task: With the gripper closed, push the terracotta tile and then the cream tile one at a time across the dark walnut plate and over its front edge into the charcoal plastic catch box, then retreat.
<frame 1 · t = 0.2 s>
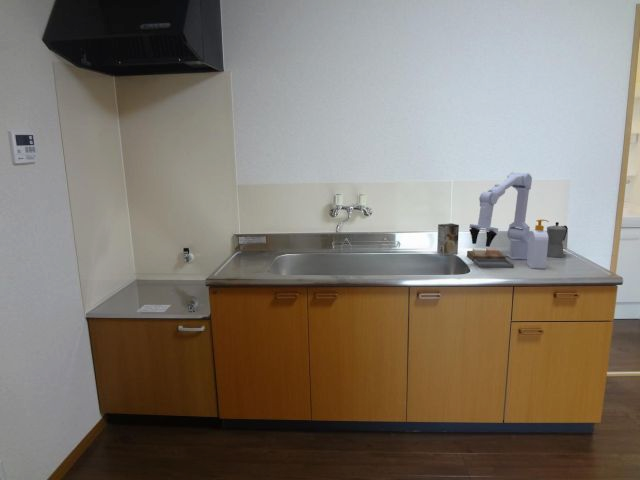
hand: (480, 245, 222), 11 cm above the table, tool pointing down, fingers open, 7 cm apart
cream tile: (478, 253, 238), point 3 cm above the table, touching walnut plate
catch box: (493, 265, 226), on the table
terracotta tile: (492, 253, 238), point 3 cm above the table, touching walnut plate
coffee box: (447, 254, 250), on the table
soap bottle: (536, 266, 223), on the table
walnut plate: (485, 259, 238), on the table
coffeepot: (555, 255, 245), on the table
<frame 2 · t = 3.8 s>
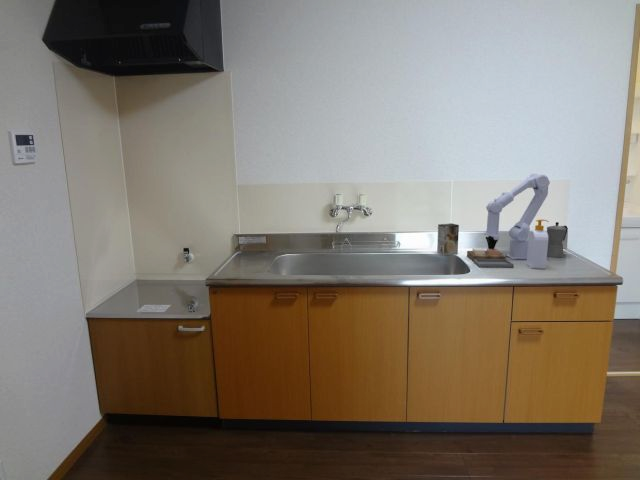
hand: (491, 250, 240), 4 cm above the table, tool pointing down, fingers closed
terracotta tile: (493, 253, 237), point 3 cm above the table, touching walnut plate
everything else where it was.
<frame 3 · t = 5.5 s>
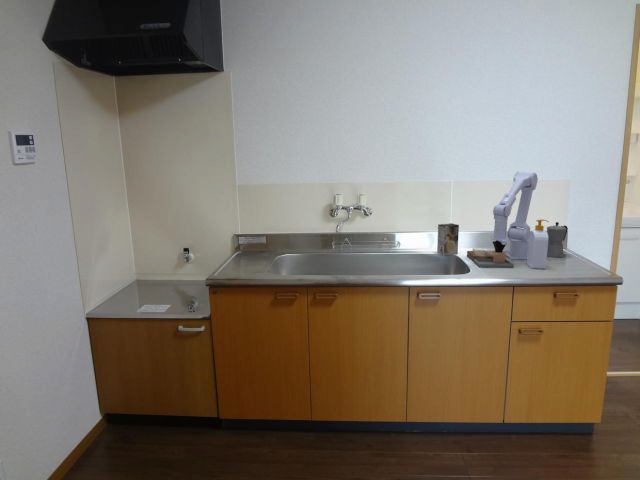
hand: (498, 256, 229), 4 cm above the table, tool pointing down, fingers closed
terracotta tile: (498, 256, 228), point 4 cm above the table, tilted 104°, touching catch box
everything else where it was.
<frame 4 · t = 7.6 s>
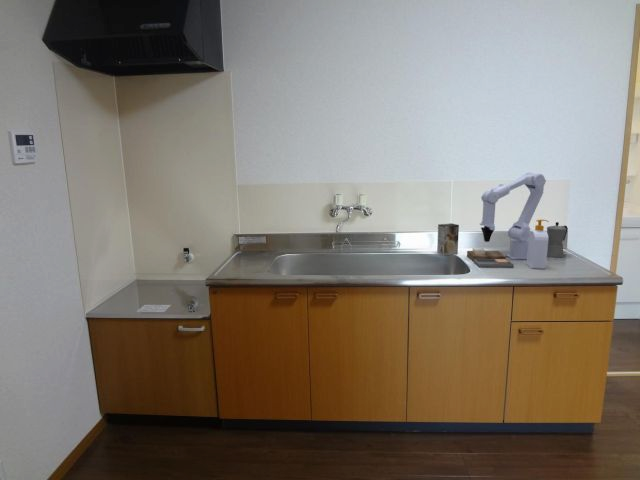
hand: (486, 241, 235), 9 cm above the table, tool pointing down, fingers closed
terracotta tile: (501, 260, 224), point 3 cm above the table, tilted 180°, touching catch box
everything else where it was.
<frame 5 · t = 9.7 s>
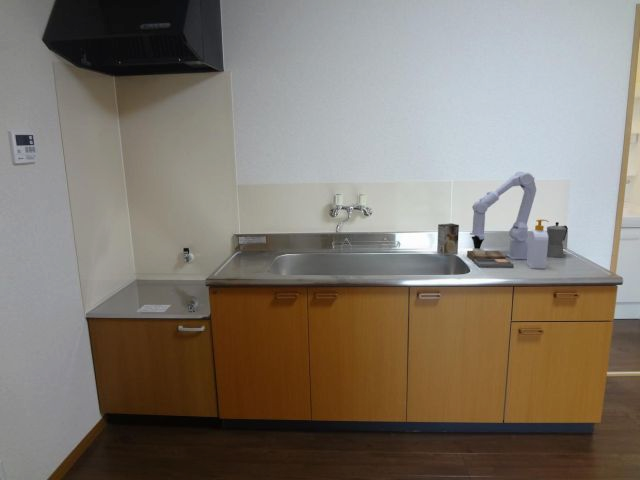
hand: (477, 250, 241), 4 cm above the table, tool pointing down, fingers closed
cream tile: (478, 253, 238), point 3 cm above the table, touching gripper, walnut plate
everything else where it was.
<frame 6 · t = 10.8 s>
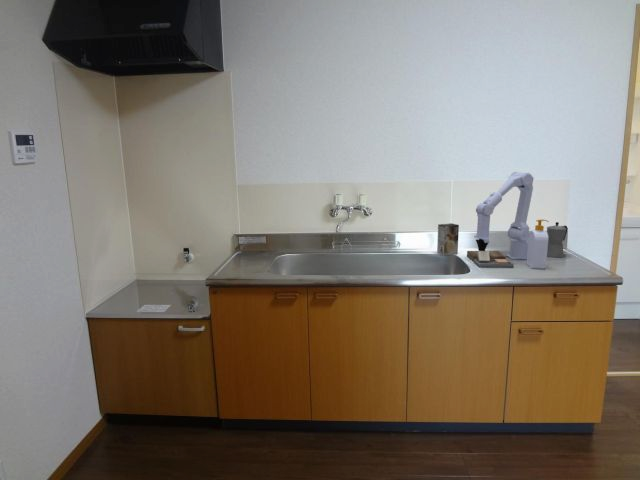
hand: (481, 253, 233), 4 cm above the table, tool pointing down, fingers closed
cream tile: (483, 257, 231), point 3 cm above the table, tilted 56°
everything else where it was.
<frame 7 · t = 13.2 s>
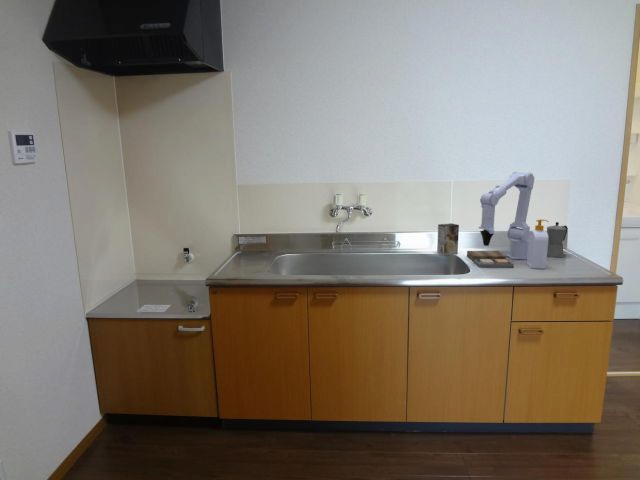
hand: (486, 245, 226), 9 cm above the table, tool pointing down, fingers closed
cream tile: (486, 260, 225), point 3 cm above the table, tilted 180°, touching catch box
everything else where it was.
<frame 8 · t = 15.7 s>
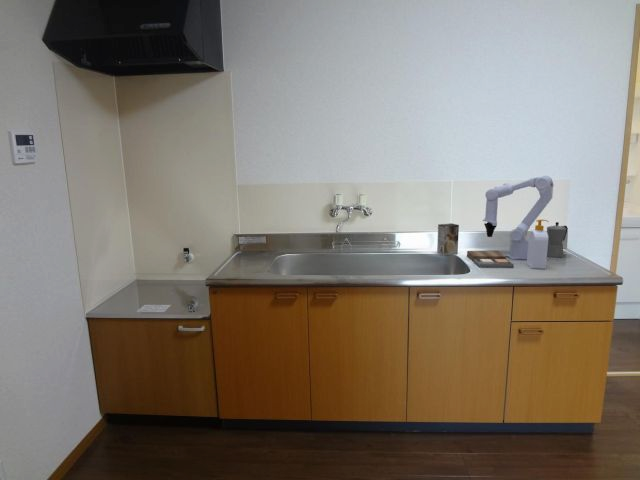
hand: (489, 236, 247), 9 cm above the table, tool pointing down, fingers closed
nothing on the table moved.
at the end: terracotta tile inside the target area on the catch box (3.6 cm from its centre), point 2.6 cm above the catch box's base; cream tile inside the target area on the catch box (3.7 cm from its centre), point 2.6 cm above the catch box's base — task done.
